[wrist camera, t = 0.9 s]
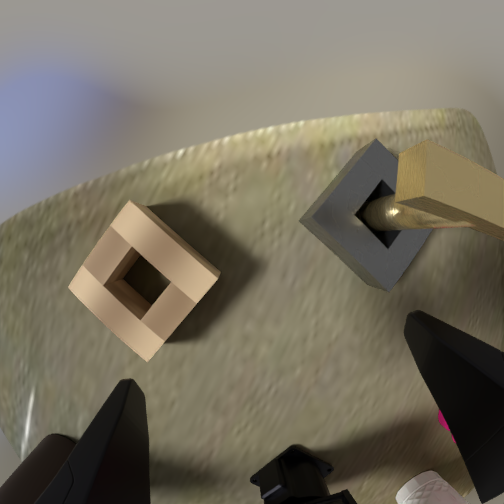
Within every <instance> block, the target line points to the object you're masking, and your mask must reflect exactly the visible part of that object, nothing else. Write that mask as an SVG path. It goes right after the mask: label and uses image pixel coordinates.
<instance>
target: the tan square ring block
mask: <svg viewBox="0 0 504 504" xmlns="http://www.w3.org/2000/svg"><path fill="white" fill-rule="evenodd" d="M140 255H142V256H143V257H144V258H145V259H146V260H147V261H149V262H150V263H151V264H152V265H153V266H154V267H155V268H156V269H157V270H159V271H160V272H161V273H162V274H163V275H164V276H165V277H166V278H168V279H169V280H170V281H171V283H170V284H169V285H168V287H167V288H166V289H165V290H164V292H163V293H162V294H161V295H160V297H159V298H158V299H157V300H156V302H155V303H154V304H153V305H151V304H150V303H149V302H148V301H146V300H145V299H144V298H143V297H142V296H141V295H140V294H139V293H138V292H137V291H135V290H134V289H133V288H132V287H131V286H130V285H129V284H128V283H127V282H126V281H125V280H124V279H123V278H124V276H125V275H126V274H127V272H128V271H129V270H130V268H131V267H132V266H133V264H134V263H135V262H136V261H137V259H138V258H139V257H140ZM220 274H221V272H220V271H219V270H218V269H217V268H216V267H215V266H213V265H212V264H211V263H210V262H209V261H208V260H206V259H205V258H204V257H203V256H202V255H201V254H199V253H198V252H197V251H196V250H195V249H194V248H193V247H191V246H190V245H189V244H188V243H187V242H186V241H185V240H183V239H182V238H181V237H180V236H179V235H178V234H177V233H175V232H174V231H173V230H172V229H171V228H170V227H169V226H168V225H166V224H165V223H164V222H163V221H162V220H161V219H160V218H159V217H157V216H156V215H155V214H154V213H153V212H152V211H151V210H150V209H149V208H147V207H146V206H144V205H141V204H139V203H136V202H133V201H130V200H129V201H128V203H127V204H126V205H125V206H124V208H123V209H122V210H121V212H120V213H119V214H118V216H117V217H116V218H115V220H114V221H113V222H112V224H111V225H110V226H109V228H108V229H107V230H106V232H105V233H104V234H103V236H102V237H101V239H100V240H99V241H98V243H97V244H96V246H95V247H94V249H93V250H92V251H91V253H90V254H89V256H88V257H87V259H86V260H85V262H84V263H83V265H82V266H81V268H80V269H79V271H78V272H77V274H76V275H75V277H74V279H73V280H72V282H71V283H70V285H69V286H68V288H69V289H70V290H71V291H72V292H73V293H74V294H75V295H76V296H77V297H78V298H79V300H80V301H81V302H82V303H83V304H84V305H85V306H86V307H87V308H88V309H89V310H90V311H91V312H92V313H93V314H94V315H95V316H96V317H97V318H99V319H100V320H101V321H102V322H103V323H104V324H105V325H106V326H107V327H108V328H109V329H110V330H111V331H112V332H113V333H114V334H116V335H117V336H118V337H119V338H120V339H121V340H122V341H123V342H124V343H126V344H127V345H128V346H129V347H130V348H131V349H132V350H134V351H135V352H136V353H137V354H138V355H140V356H141V357H142V358H143V359H144V360H145V361H147V362H148V361H149V360H150V358H151V357H152V356H153V355H154V354H155V353H156V351H157V350H158V349H159V348H160V347H161V345H162V344H163V343H164V342H165V341H166V339H167V338H168V337H169V336H170V335H171V334H172V332H173V331H174V330H175V329H176V328H177V326H178V325H179V324H180V323H181V322H182V321H183V319H184V318H185V317H186V316H187V315H188V314H189V312H190V311H191V310H192V309H193V308H194V306H195V305H196V304H197V303H198V302H199V301H200V299H201V298H202V297H203V296H204V295H205V294H206V292H207V291H208V290H209V289H210V288H211V287H212V285H213V284H214V283H215V282H216V281H217V279H218V278H219V276H220Z"/></svg>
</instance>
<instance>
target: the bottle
mask: <svg viewBox="0 0 504 504" xmlns="http://www.w3.org/2000/svg"><path fill="white" fill-rule="evenodd" d="M75 446H76V444H75V443H74V442H72V441H71V440H69V439H67V438H65V437H63V436H60V435H56V434H52V435H48V436H46V437H45V438H44V439H43V440H42V441H41V442H40V443H39V444H38V446H37V447H36V448H35V449H34V450H33V451H32V452H31V453H30V454H29V456H28V457H27V458H26V459H25V460H24V461H23V462H22V463H21V465H20V466H19V467H18V468H17V469H16V470H15V471H14V472H13V474H12V475H11V476H10V477H9V478H8V479H7V481H6V482H5V483H4V484H3V485H2V486H1V487H0V504H34V503H35V502H36V500H37V499H38V498H39V497H40V495H41V494H42V493H43V492H44V491H45V489H46V488H47V487H48V485H49V484H50V483H51V481H52V480H53V479H54V478H55V476H56V475H57V473H58V472H59V470H60V469H61V467H62V466H63V464H64V463H65V461H66V460H67V459H68V457H69V455H70V454H71V452H72V451H73V449H74V447H75Z"/></svg>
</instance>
